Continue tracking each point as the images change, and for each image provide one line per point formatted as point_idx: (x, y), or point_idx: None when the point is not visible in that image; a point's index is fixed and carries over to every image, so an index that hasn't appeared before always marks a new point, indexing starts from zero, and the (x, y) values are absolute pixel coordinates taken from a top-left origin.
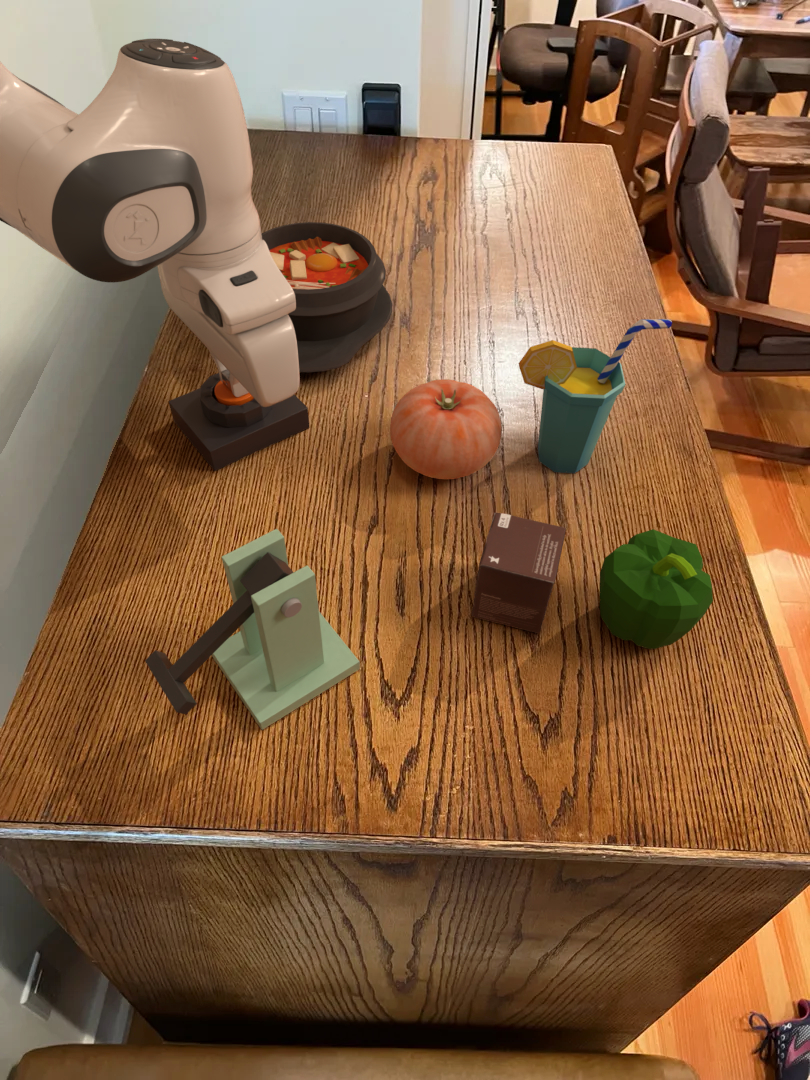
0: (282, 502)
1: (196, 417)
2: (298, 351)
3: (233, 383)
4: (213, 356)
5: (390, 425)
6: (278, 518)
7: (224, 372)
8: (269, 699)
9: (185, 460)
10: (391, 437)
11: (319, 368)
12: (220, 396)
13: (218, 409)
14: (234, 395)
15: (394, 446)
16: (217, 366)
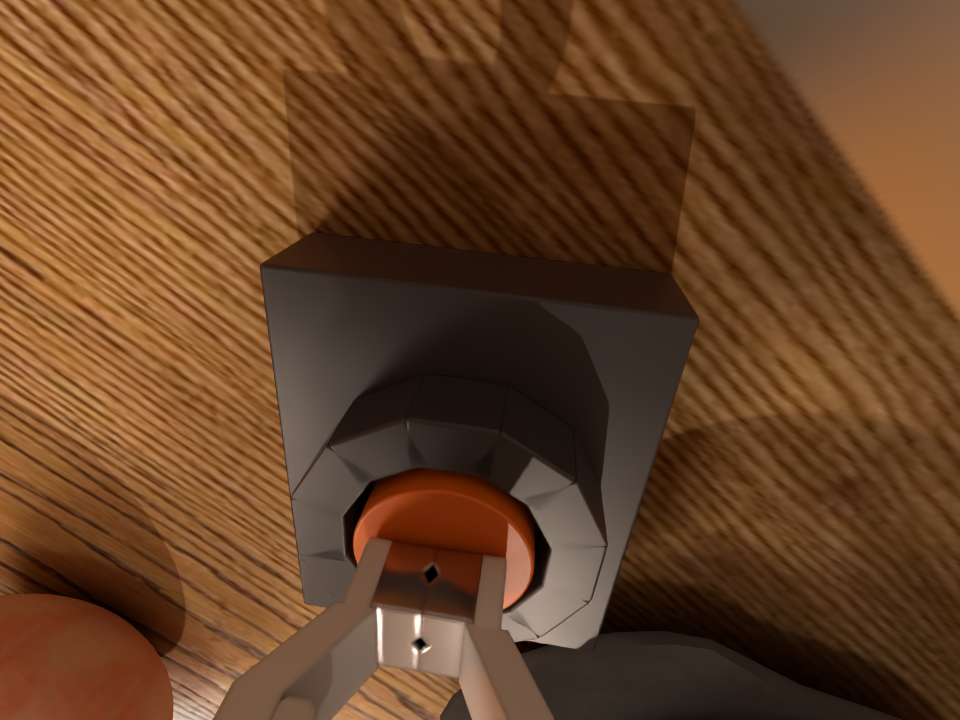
0: (79, 314)
1: (495, 346)
2: (567, 715)
3: (319, 614)
4: (508, 710)
5: (49, 687)
6: (15, 264)
7: (453, 628)
8: None
9: (433, 178)
10: (19, 660)
11: (463, 699)
12: (430, 499)
13: (371, 444)
14: (369, 541)
15: (12, 638)
16: (495, 644)
